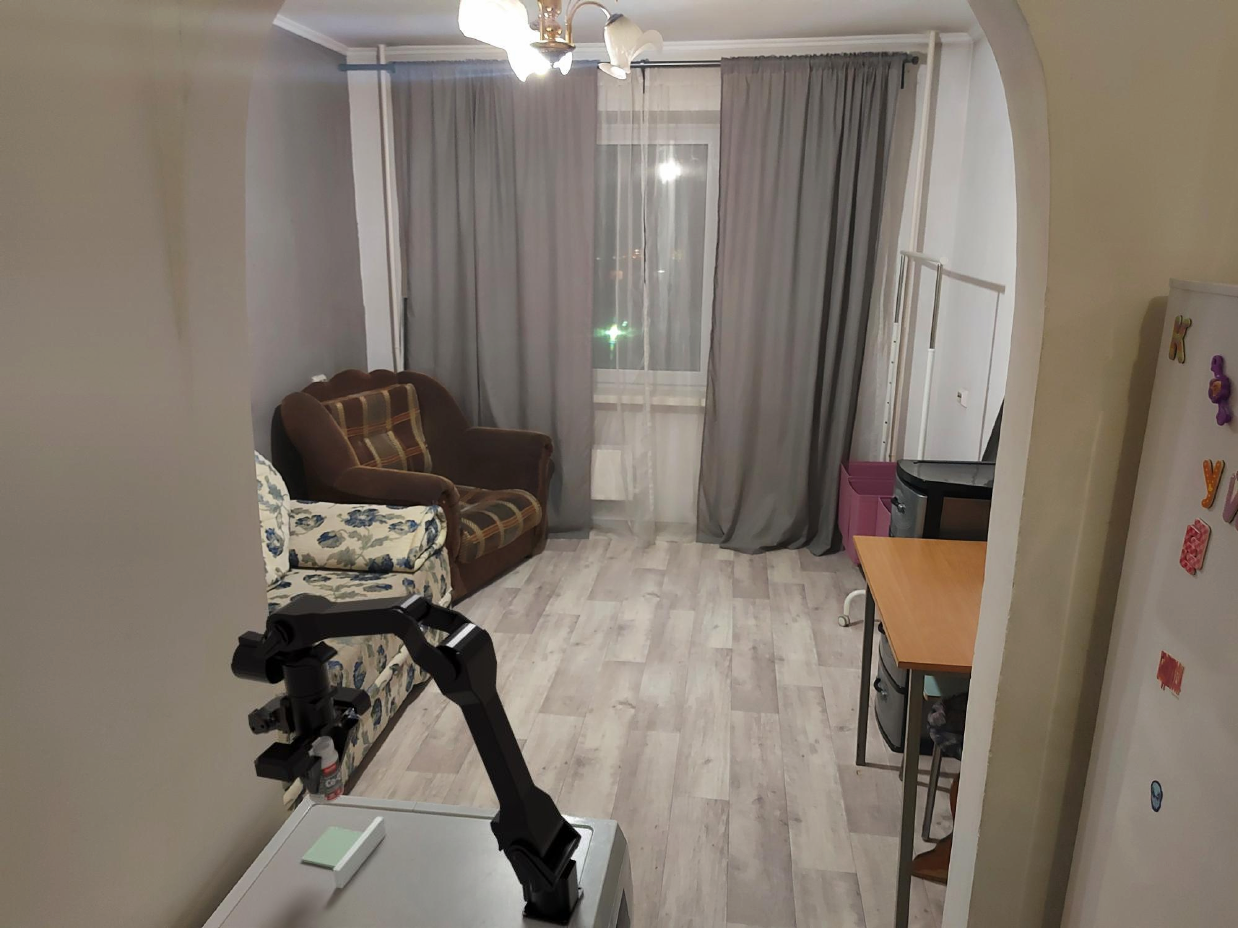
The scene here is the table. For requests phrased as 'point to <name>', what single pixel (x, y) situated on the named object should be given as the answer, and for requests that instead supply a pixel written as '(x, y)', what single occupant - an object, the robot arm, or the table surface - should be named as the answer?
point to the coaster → (331, 847)
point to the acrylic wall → (359, 852)
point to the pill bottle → (328, 772)
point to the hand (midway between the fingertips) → (325, 781)
